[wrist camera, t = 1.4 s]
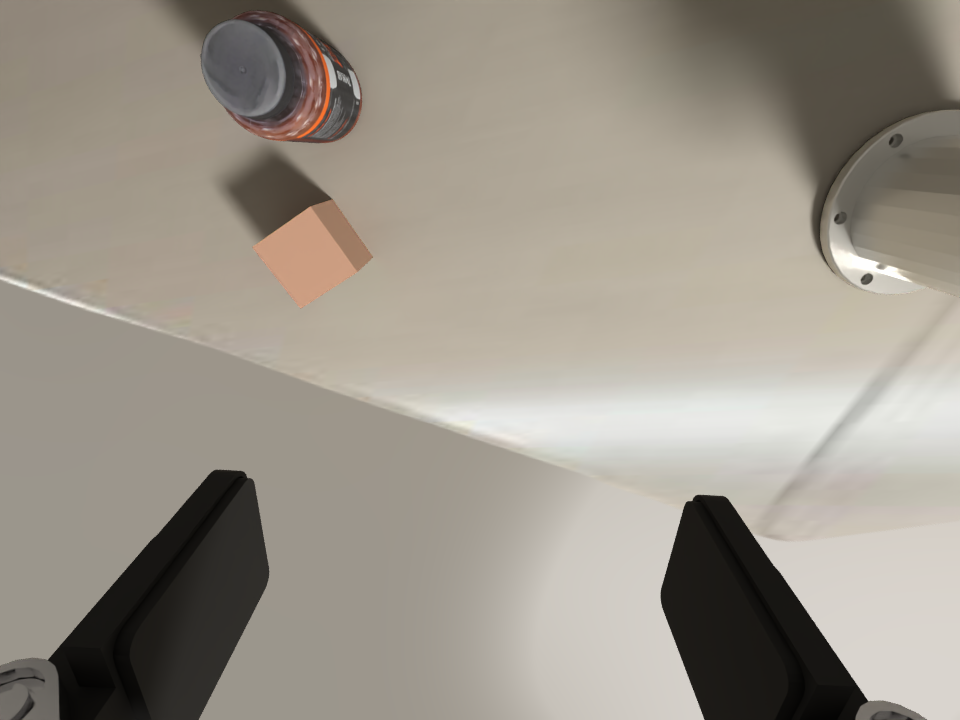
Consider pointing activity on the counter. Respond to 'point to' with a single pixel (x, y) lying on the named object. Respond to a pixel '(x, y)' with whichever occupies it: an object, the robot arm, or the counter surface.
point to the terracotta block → (313, 252)
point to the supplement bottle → (280, 79)
